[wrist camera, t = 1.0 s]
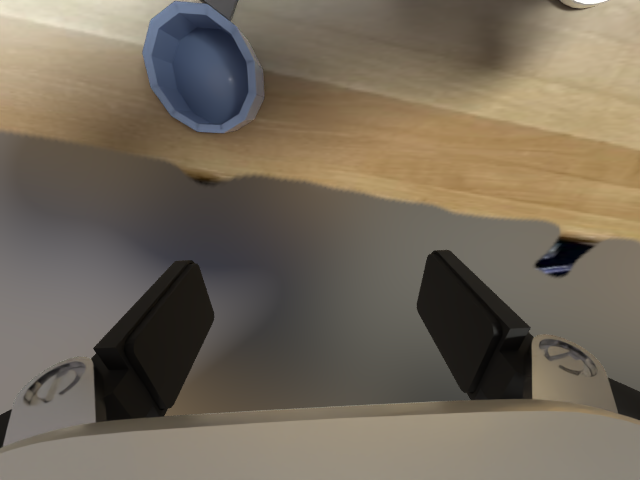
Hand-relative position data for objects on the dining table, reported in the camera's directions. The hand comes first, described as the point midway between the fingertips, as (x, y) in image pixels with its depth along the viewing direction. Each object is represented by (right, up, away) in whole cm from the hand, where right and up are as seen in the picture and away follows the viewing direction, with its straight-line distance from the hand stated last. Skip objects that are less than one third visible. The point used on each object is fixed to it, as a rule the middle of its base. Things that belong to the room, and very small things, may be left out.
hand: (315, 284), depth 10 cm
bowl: (-12, +21, +19) cm, 31 cm away
